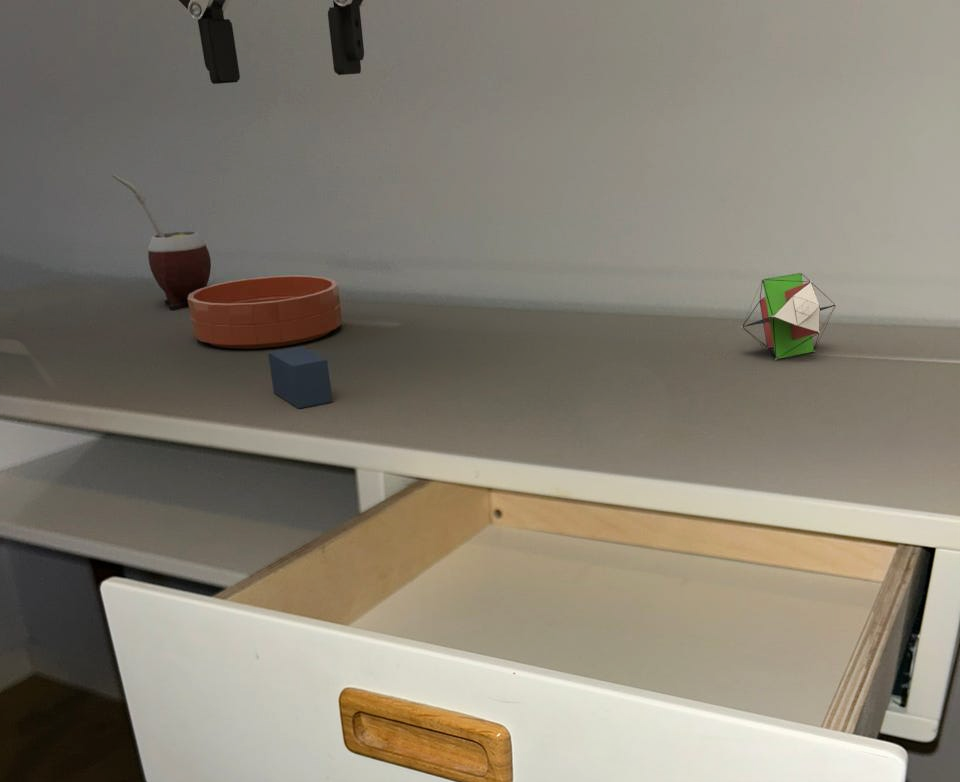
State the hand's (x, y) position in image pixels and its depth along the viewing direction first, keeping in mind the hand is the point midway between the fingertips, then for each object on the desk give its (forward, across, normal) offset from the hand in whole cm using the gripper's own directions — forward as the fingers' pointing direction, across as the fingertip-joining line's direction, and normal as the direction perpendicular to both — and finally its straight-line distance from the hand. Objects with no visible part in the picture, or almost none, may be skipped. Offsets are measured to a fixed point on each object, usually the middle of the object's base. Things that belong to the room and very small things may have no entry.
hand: (286, 78), depth 76 cm
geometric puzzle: (+24, +35, +19) cm, 46 cm away
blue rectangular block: (+24, -3, +1) cm, 24 cm away
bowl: (+23, -18, +24) cm, 38 cm away
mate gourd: (+24, -36, +37) cm, 57 cm away
